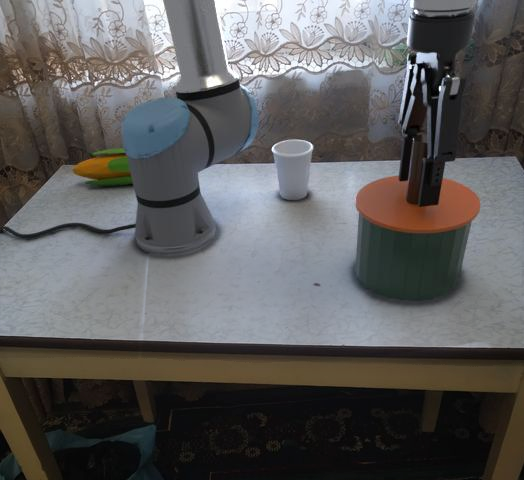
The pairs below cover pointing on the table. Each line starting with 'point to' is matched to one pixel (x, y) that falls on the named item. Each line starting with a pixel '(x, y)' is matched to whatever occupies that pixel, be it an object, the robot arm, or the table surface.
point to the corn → (106, 169)
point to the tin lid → (416, 200)
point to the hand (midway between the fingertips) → (417, 191)
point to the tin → (409, 261)
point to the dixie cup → (293, 167)
